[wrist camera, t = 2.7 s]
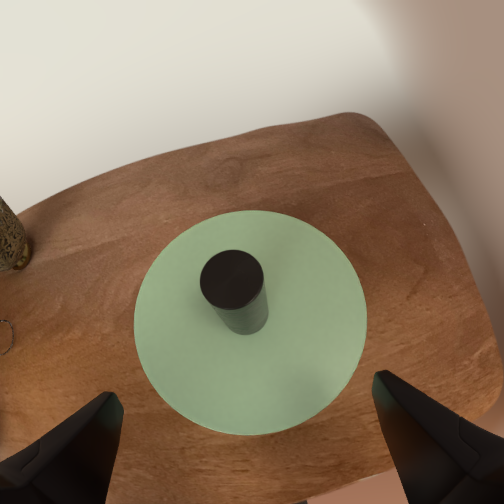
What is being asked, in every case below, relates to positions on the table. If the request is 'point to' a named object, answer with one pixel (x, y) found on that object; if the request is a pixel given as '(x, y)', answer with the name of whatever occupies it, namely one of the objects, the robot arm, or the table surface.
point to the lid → (250, 322)
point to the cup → (12, 240)
